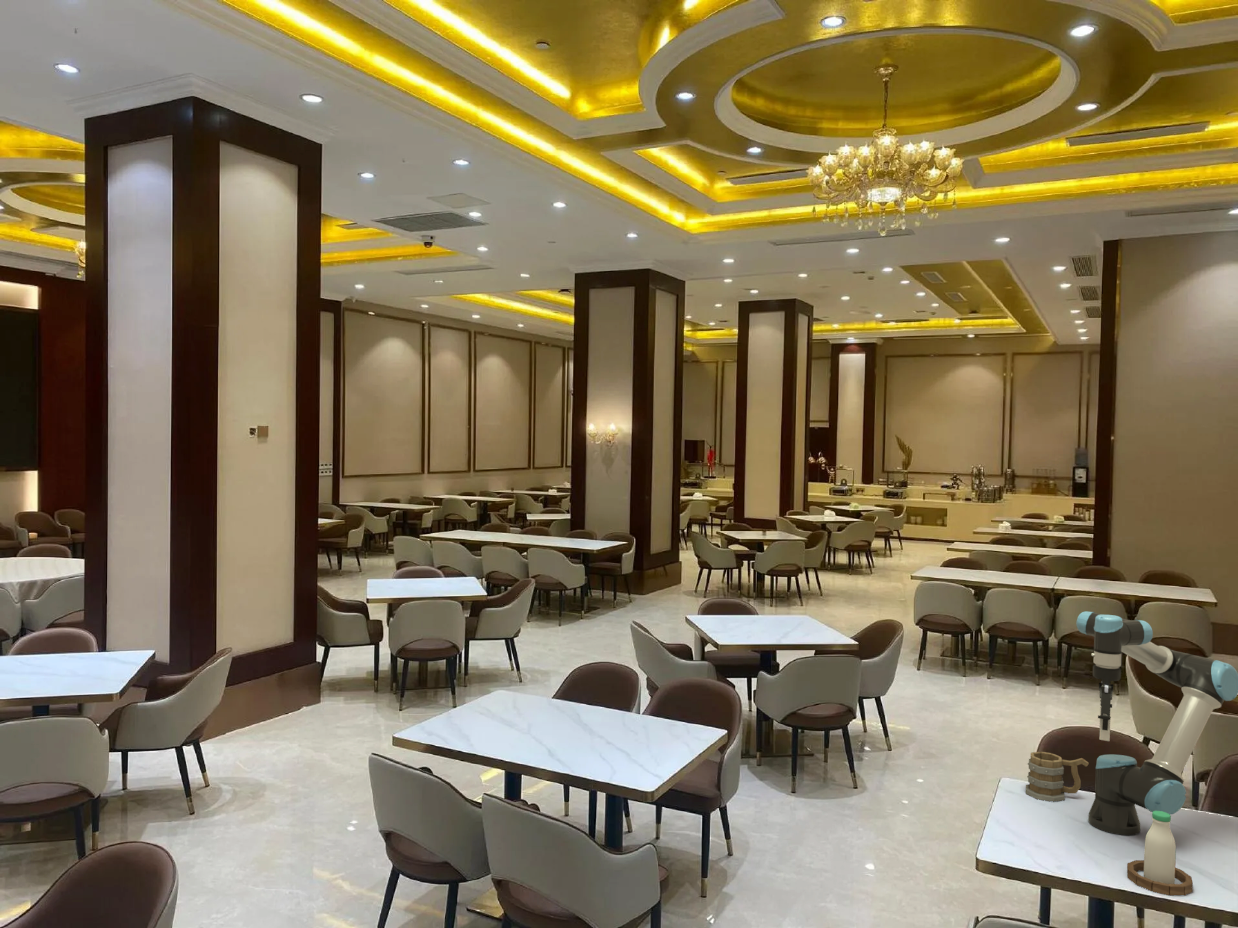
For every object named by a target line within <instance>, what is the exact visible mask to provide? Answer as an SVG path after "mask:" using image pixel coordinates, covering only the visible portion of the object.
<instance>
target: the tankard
mask: <svg viewBox="0 0 1238 928" xmlns="http://www.w3.org/2000/svg"><path fill="white" fill-rule="evenodd" d="M1027 765H1028V770H1029V771H1028V772H1027V773H1028V774H1027V784H1025V794H1026V795H1027V796H1030V797H1032V798H1034V799H1036V800H1038V799H1039V800H1040V801H1044V800H1045V802H1050V801H1053V802H1052V803H1055V802H1054V801H1057V802H1061V801H1062V800H1063V801H1065V799H1066V795H1065V794H1077V793H1078V792H1079V790H1080V789H1081V786H1082V785H1081V782H1082V781H1081V778H1080V775H1079V771H1078V766H1081V765H1082V766H1084V768H1085V767H1088V765H1089V762H1088V761H1087V760H1086V759H1084V758H1082V757H1081V758H1077V759H1073V760H1067V759H1063V758H1062V757H1061V756H1059V755H1057V754H1055V753H1052V752H1045V751H1034V752H1030V758H1028V763H1027ZM1064 766H1066V767H1068V766H1069V767H1070V773H1071V776H1072V779H1073V785H1072V786H1069V787H1068V786H1065V785H1064V783H1065V782H1064V778H1063V775H1064V771H1065V768H1064ZM1028 783H1029V784H1028ZM1039 800H1038V801H1039ZM1063 801H1062V802H1063Z"/></svg>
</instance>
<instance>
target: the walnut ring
mask: <svg viewBox="0 0 1238 928" xmlns="http://www.w3.org/2000/svg"><path fill="white" fill-rule="evenodd" d="M1138 872H1144V859H1143V860H1142V859H1138V860H1137V859H1136V860H1135V859H1134V860H1132V861H1130V862H1128V863H1127V864H1126V878H1127V879H1128V880H1130V881H1131V882H1132V883H1133V884H1135V885H1137V886H1138V887H1140V886H1141V887H1140V888H1142V887H1143V889H1145V888H1146V889H1145V890H1147V889H1148V890H1147V891H1149V890H1150V892H1152V891H1153V893H1156V892H1157V894H1162V895H1165V894H1166V896H1174V895H1184V896H1187V895H1190V894H1191V893H1193V889H1194V887H1193V885H1194V884H1193V883H1194V881H1193V879H1192V876H1191V875H1189V874H1188V872H1187V873H1186V872H1185V871H1184V870H1183V869H1180V868H1178V867H1175V880H1178V881H1179V882H1180V883H1175V884H1166V883H1161V882H1156V881H1153V880H1150V879H1148V878H1145V877H1144V875H1141V874H1140V873H1138ZM1186 894H1187V895H1186Z"/></svg>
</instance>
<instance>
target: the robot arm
mask: <svg viewBox="0 0 1238 928" xmlns="http://www.w3.org/2000/svg"><path fill="white" fill-rule="evenodd" d="M1075 622H1076V628H1077V631H1078V632H1079V633H1081V634H1085V635H1086V636H1092V637H1093V641H1094V642H1093V652H1092V653H1091V655H1090V656H1091V657H1093V662H1092V663H1093V665H1092V677H1093V678H1095V679H1097V680H1101V682H1099V683H1098V691H1099V699H1100V703H1099V705H1100V708H1099V715H1097V719H1099V740H1101V741H1105V742H1110V740H1111V738H1110V737H1111V736H1110V735H1111V718H1112V717H1111V709H1112V708H1113V704H1111V702H1112V700H1113V693H1114V684H1112V683H1111V682H1117V681H1120V680H1121V675H1122V674H1121V673H1122V672H1121V671H1122V669H1121V668H1120V667H1122V653H1123V654H1125V655H1127V656H1128V657H1130V658H1132V659H1134V660H1136V661H1137V662H1139V663H1141V664H1143V665H1145V667H1146V669H1147V670H1148V671H1150V672H1151V673H1153V674H1155V675H1157V676H1158V677H1159V678H1162V679H1163V680H1165V681H1167V682H1168V683H1170V684H1172V685H1175V686H1177V687H1178V688H1181V692H1182V693H1183V696H1182V699H1181V701H1180V702H1179V704H1178V707H1177V709H1176V710H1175V713H1174V714H1173V717H1172V719H1171V720H1170V722H1169V724H1168V726H1167V729H1166V731H1165V733H1164V735H1163V736H1162V738H1161V741H1160V743H1159V745H1158V746H1157V748H1156V750H1155V752H1154V755H1153V757H1152V758H1150V759H1146V760H1144V761H1143V763H1142V765H1141V767H1140V766H1138V762H1137V760H1136V758H1134V757H1132V756H1129V755H1122V754H1102V755H1099V756H1098V757H1097V758H1096V765H1095V782H1094V784H1095V789H1094V790H1095V793H1094V800H1093V803H1092V805H1091V808H1090V809H1089V813H1088V815H1087V816H1088V817H1087V818H1088V819H1087V820H1088V823H1089V824H1090V825H1091V826H1093V827H1095V828H1097V829H1098V830H1101V831H1103V832H1107V833H1110V834H1116V835H1121V836H1133V835H1134V836H1135V835H1138V834H1140V832H1141V822H1140V819H1139V815H1138V813H1137V812H1138V811H1137V809H1136V808H1137V807H1136V806H1139V807H1140V808H1143V809H1144V810H1147V811H1149V812H1151V813H1152V812H1153V811H1163V812H1166V813H1168V814H1170V816H1171V815H1175V814H1177V812H1179V811H1180V810H1181V809H1182V807H1183V806H1184V804H1185V802H1186V799H1187V796H1186V794H1187V790H1186V788H1185V786H1184V782H1185V779H1184V777H1183V775H1182V773H1183V772H1184V769H1185V767H1186V765H1187V763H1188V762H1189V759H1190V758H1191V755H1192V753H1193V751H1194V749H1195V747H1196V745H1197V743H1198V741H1199V740H1200V739H1199V738H1200V737H1201V735H1202V733H1203V730H1204V729H1205V726H1206V725H1207V722H1208V720H1209V719H1210V716H1211V715H1212V713H1213V711H1214V710H1215V709H1219V708H1222V705H1223V703H1224V701H1225V702H1230V701H1233V700H1235V698H1237V696H1238V671H1237V670H1236V667H1234V666H1233V665H1231V664H1230V663H1227V662H1225V661H1224V662H1223V661H1221V660H1219V659H1218V660H1217V659H1212V658H1208V657H1204V656H1200V655H1194V654H1193V653H1192V654H1190V653H1187V652H1186V653H1185V652H1182V651H1176V650H1173V649H1171V648H1169V647H1166V646H1164V645H1157V644H1155V643H1153V642H1152V639H1153V637H1154V632H1153V629H1152V626H1151V625H1150V623H1148V622H1147V621H1145V620H1141V619H1139V620H1138V619H1134V620H1132V619H1131V620H1130V619H1126V618H1122V617H1121V616H1118V615H1114V614H1113V615H1112V614H1103V613H1102V614H1101V613H1097V612H1095V611H1082V612H1081V613H1079V614H1078V616H1077V619H1076V621H1075Z"/></svg>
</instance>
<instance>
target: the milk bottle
mask: <svg viewBox="0 0 1238 928" xmlns="http://www.w3.org/2000/svg"><path fill="white" fill-rule="evenodd" d="M1151 814H1152V815H1151V817H1152V818H1151V820H1152V824H1151V826H1150V828H1149V829H1148V831H1147V833H1146V835H1145V839H1144V850H1143V851H1144V852H1143V857H1144V858H1143V860H1144V871H1143V877H1145V878H1148V879H1150V880H1153V881H1156V882H1161V883H1166V884H1176V882H1175V880H1176V878H1175V868H1176V859H1177V854H1176V853H1177V850H1176V849H1177V848H1176V844H1177V843H1176V839H1175V837H1174V834H1173V833H1172V830H1171V826H1170V824H1171V821H1172V820H1171V819H1172V818H1171V817H1172V816H1171V815H1170V814H1168V813H1166V812H1163V811H1153V812H1151Z"/></svg>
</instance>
